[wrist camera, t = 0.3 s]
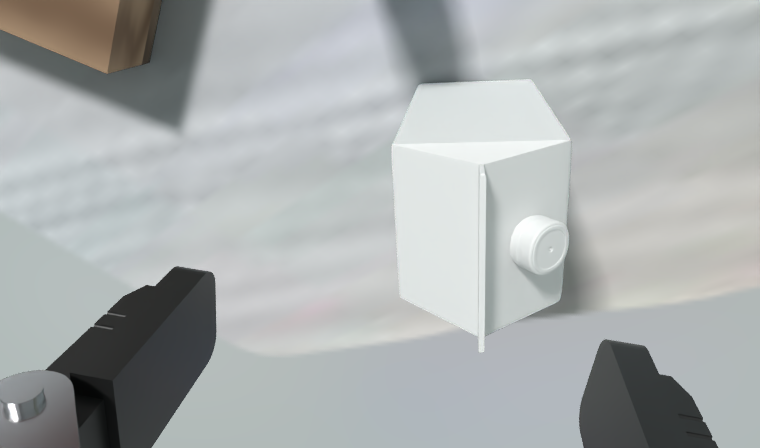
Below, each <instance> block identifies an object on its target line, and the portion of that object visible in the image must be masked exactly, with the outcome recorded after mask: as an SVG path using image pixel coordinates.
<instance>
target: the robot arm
mask: <svg viewBox="0 0 760 448" xmlns="http://www.w3.org/2000/svg"><path fill="white" fill-rule="evenodd" d="M215 340H216V295H215V278H214V275H213V273H212V272H208V271H202V270H196V269H190V268H184V267H178V266H177V267H174V268H173V269H172V270H171V271H170V272H169V273H168V274H167V275H166V276H165V277H164V278H163V279H162V280H161V281H160V282H159V283H158V284H157V285H156V286H149V285H146V286H144V287H142V288H140V289H138V290H136V291H134V292H131V293H129V294H127V295H125V296H123V297H122V298H121V299H120V300H119V301H118V302H117V303H116V304H115V305H114V306H113V307H112V308H111V309H110V310H109V311H108V313H107V315H106V314H105V315H103V316H102V317H101V318H100V319H99V320H98V321H97V322H96V323H95V325H94V327H90V329H88V331H86V332H85V333H84V334H83V335H82V336H81V337H80V338H79V339H78V340H77V341H76V342H75V343H74V344H72V346H70V347H69V348H68V349H67V350H66V351H65V352H64V353H63V354H62V355H61V356H60V357H59V358H58V359H57V360H56V361H54V362H53V363H52V364H51V365H50V366H49V367H48V368H47V369H46V370H36V371H28V372H22V373H18V374H15V375H12V376H9V377H6V378H4V379H2V380H0V448H151V447H152V446H153V445H154V443H155V442H156V440H157V439H158V437H159V436H160V434H161V433H162V431H163V430H164V428H165V426H166V425H167V424H168V422H169V421H170V419H171V417H172V416H173V415H174V413H175V411H176V410H177V409H178V407H179V406H180V404H181V402H182V401H183V400H184V398H185V397H186V395H187V393H188V392H189V391H190V389H191V388H192V386H193V385H194V383H195V381H196V380H197V379H198V377H199V376H200V374H201V373H202V371H203V369H204V368H205V367H206V365H207V364H208V362H209V360H210V358H211V355H212V352H213V349H214V346H215ZM702 420H703V417H702V415H701V414H700V412H699V410H698V408H697V406H696V404H695V402H694V400H693V398H692V396H690V395H689V394H688V393H687V392H686V391H685V390H684V389H683V388H682V387H681V386H680V385H679V384H678V383H677V382H676V381H675V380H674V379H673V378H672V377H671V376H666V375H660V374H659V373H658V371H657V369H656V367H655V364H654V362H653V360H652V358H651V356H650V354H649V351H648V350H647V348H646V347H645V346H642V345H636V344H629V343H624V342H618V341H611V340H604V341H602V343H601V344H600V346H599V349H598V351H597V354H596V358H595V361H594V364H593V367H592V370H591V373H590V376H589V379H588V382H587V385H586V388H585V391H584V394H583V398H582V401H581V406H580V415H579V423H580V424H579V426H580V433H581V437H582V442H583V446H584V448H718V446H717V444H716V442H715V441H713V440H712V435H711V433H710V431H709V429H708V427H707V425H706V423H705V422H703V421H702Z"/></svg>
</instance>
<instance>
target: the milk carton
mask: <svg viewBox="0 0 760 448" xmlns="http://www.w3.org/2000/svg"><path fill="white" fill-rule="evenodd" d="M391 154H392V174H393V192H394V210H395V228H396V246H397V264H398V281H399V293H400V298H401V299H403V300H405V301H407V302H409V303H411V304H413V305H415V306H417V307H419V308H421V309H423V310H425V311H427V312H429V313H431V314H433V315H435V316H437V317H439V318H441V319H443V320H445V321H447V322H449V323H451V324H453V325H455V326H457V327H459V328H461V329H463V330H465V331H467V332H469V333H471V334H473V335H475V336H477V337H478V348H479V353H483V352H484V342H485V336H487V335H489V334H491V333H493V332H495V331H497V330H500V329H502V328H504V327H506V326H508V325H510V324H512V323H514V322H517V321H519V320H521V319H523V318H525V317H527V316H529V315H531V314H534V313H536V312H538V311H540V310H542V309H544V308H546V307H548V306H551V305H553V304H555V303H557V302H558V301H560V298H561V294H562V285H563V272H564V259H565V257H566V254H567V251H568V247H569V232H568V229H567V216H568V202H569V188H570V173H571V157H572V142H571V139H570V137H569V136H568V134H567V132H566V131H565V129H564V128H563V126H562V125H561V123H560V122H559V120H558V119H557V117H556V116H555V114H554V113H553V111H552V110H551V108H550V107H549V105H548V104H547V102H546V101H545V99H544V98H543V96H542V95H541V93H540V92H539V90H538V89H537V87H536V86H535V84H534V83H533V81H532V80H531V79H522V80H497V81H472V82H448V83H423V84H419V85H418V87H417V89H416V92H415V94H414V96H413V99H412V101H411V103H410V105H409V108H408V110H407V112H406V114H405V117H404V119H403V121H402V124H401V126H400V128H399V130H398V133H397V135H396V137H395V140H394V142H393V144H392V147H391Z"/></svg>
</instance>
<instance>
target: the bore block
mask: <svg viewBox="0 0 760 448" xmlns="http://www.w3.org/2000/svg"><path fill="white" fill-rule="evenodd" d="M161 3H162V0H0V30H3V31H5V32H8V33H10V34H12V35H15V36H17V37H20V38H22V39H24V40H27V41H29V42H32V43H34V44H36V45H39V46H41V47H44V48H46V49H48V50H51V51H53V52H56V53H58V54H60V55H63V56H65V57H68V58H70V59H72V60H75V61H77V62H80V63H82V64H84V65H87V66H89V67H92V68H94V69H96V70H99V71H101V72H104V73H106V74H109V73H112V72H116V71H120V70H124V69H127V68H131V67H135V66H139V65H143V64H146V63H149V62H150V57H151V52H152V47H153V42H154V37H155V32H156V27H157V22H158V17H159V12H160V7H161Z"/></svg>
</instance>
